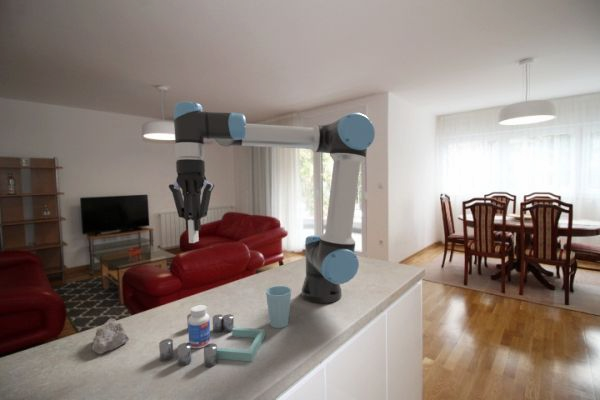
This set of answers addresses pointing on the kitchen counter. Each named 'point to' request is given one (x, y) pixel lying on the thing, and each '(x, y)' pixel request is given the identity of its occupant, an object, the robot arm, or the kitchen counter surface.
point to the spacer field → (184, 349)
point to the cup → (278, 305)
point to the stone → (109, 337)
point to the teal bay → (243, 354)
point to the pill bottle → (199, 327)
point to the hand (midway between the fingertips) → (193, 241)
